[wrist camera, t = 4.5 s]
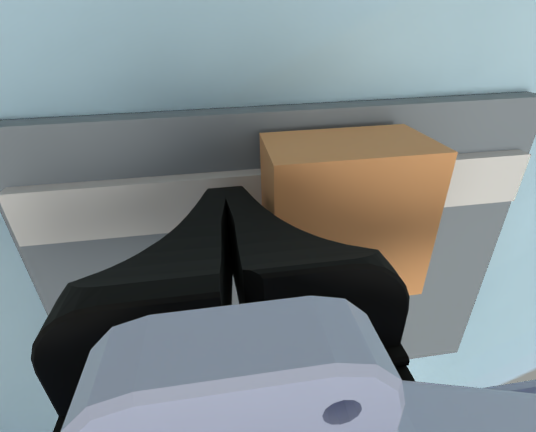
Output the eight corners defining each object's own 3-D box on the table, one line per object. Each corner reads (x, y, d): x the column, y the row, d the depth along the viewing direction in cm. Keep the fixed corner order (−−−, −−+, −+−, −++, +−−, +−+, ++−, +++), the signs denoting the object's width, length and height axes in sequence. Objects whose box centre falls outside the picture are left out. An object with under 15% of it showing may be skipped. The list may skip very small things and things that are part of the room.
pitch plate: (94, 387, 18) (79, 436, 16) (-19, 121, 11) (-72, 144, 9) (446, 338, 21) (474, 375, 18) (528, 91, 14) (586, 104, 12)
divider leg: (267, 375, 18) (278, 440, 15) (258, 131, 11) (273, 165, 9) (362, 362, 18) (388, 422, 15) (402, 122, 12) (457, 152, 9)
